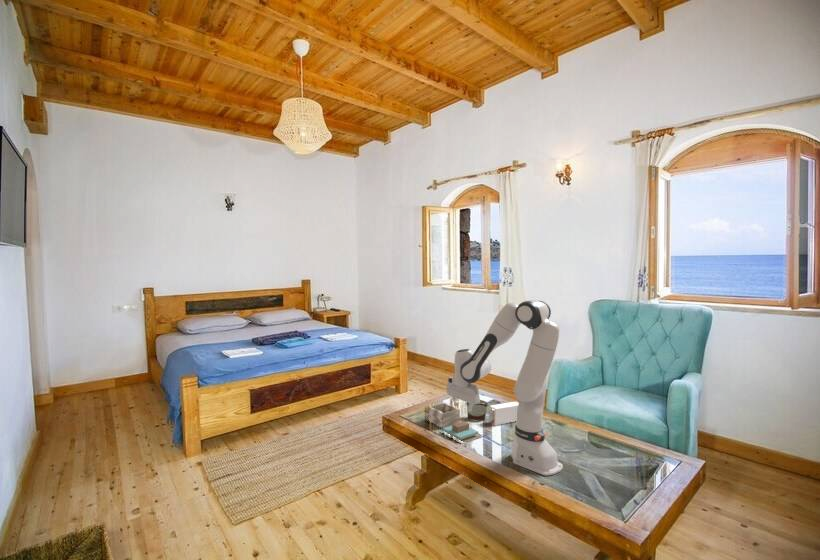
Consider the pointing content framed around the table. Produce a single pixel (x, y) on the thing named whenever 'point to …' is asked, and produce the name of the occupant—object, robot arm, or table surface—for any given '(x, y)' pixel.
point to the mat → (471, 438)
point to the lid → (460, 430)
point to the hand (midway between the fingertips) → (462, 408)
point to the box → (443, 415)
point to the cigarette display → (503, 413)
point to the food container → (477, 411)
